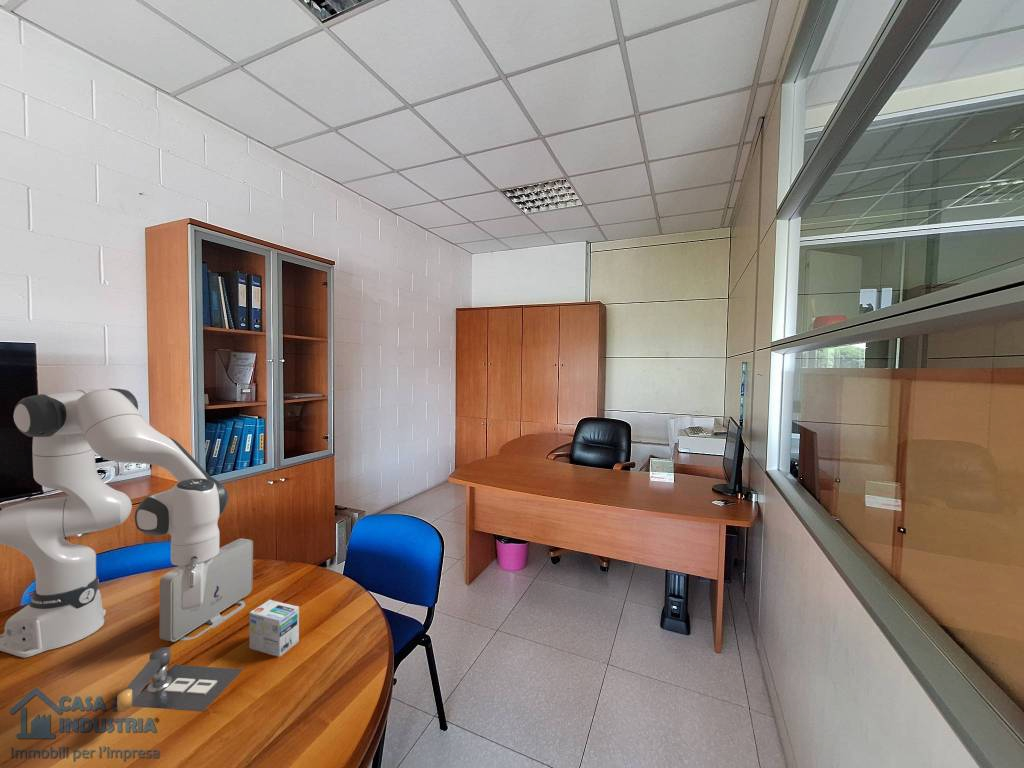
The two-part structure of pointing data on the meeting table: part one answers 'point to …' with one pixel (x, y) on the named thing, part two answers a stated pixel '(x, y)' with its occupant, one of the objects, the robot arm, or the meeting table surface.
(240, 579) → the network device
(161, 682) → the pivot post
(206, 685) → the white flat rectangle
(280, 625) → the light bulb box
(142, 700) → the dark grey flat plate
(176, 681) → the psu label
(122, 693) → the dark grey lever handle
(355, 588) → the meeting table surface
